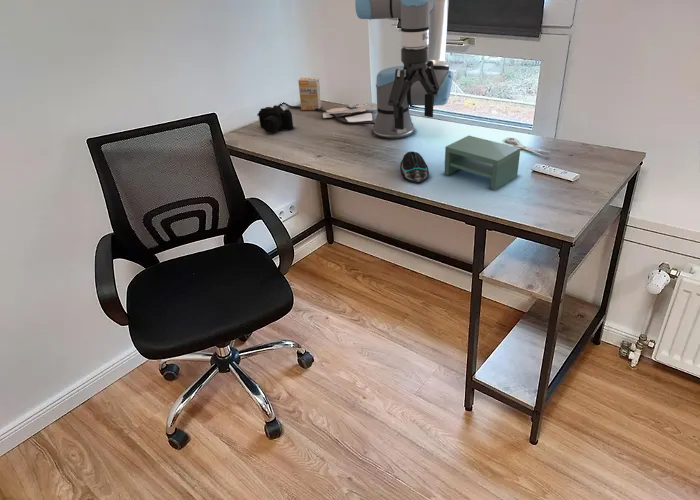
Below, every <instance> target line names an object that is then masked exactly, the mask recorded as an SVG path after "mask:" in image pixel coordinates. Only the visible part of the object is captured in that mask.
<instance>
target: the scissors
mask: <svg viewBox="0 0 700 500" xmlns="http://www.w3.org/2000/svg"><path fill="white" fill-rule="evenodd" d="M505 141H506V142H507V143H510V144H514V145H513V146H514V147H518V148H521V149H520V150H522V149H523V150H526V151H529V152H531V153H534V154H537V155H540V156H543V157H545V155H544V154H542V153H539V152H546V153H549V151H548V150H544V149H539V148H534V147H529V146H526V145H523V144H521V143H519V142H518V141H517V139H516V138H515V137H506V139H505ZM502 144H504V143H502Z"/></svg>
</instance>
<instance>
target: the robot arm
mask: <svg viewBox="0 0 700 500" xmlns="http://www.w3.org/2000/svg"><path fill="white" fill-rule="evenodd" d="M449 3H450V0H354V6H355V8H354V9H355V14H356V16H357V18H358V19H360V20H369V21H371V20H384V19H385V20H387V19H400V46H401V49H400V61H401V63H402V64H403V65H396V66H390V67H386V68H384V69H382V70H380V71H378V72H377V74H376V82H375V87H376V104H377V109H376V111H377V112H376V116H375V120H374V122H373V121H359V122H348V120H344V119H343V120H342V119H341V118H340V117H339V116H335V115H334V114H330V115H332V116H333V117H332V118H334V119H336V120H338V122H340V123H343V124H347V125H373V128H372V133H373V135H374V136H375V137H377V138H381V139H386V140H397V139H398V140H399V139H404V138H408V137H410V136H412V135H413V134H414V133H415V127H414V126H415V125H414V123H413V121H412V118H411V114H410V106H424V115H423V116H424V117H427V118H434V107H435V106H437V107H438V106H439V107H440V106H445V105H446V104H448V101H449V98H450V94H451V90H452V85H453V77H454V72H453V71H452V70H450V65H449V63H447V61H446V54H447V53H446V51H447V37H448V35H447V33H448V19H449V18H448V16H449ZM282 102H283V103H282ZM282 102H280V104H279V105H280V107H281V106H283V105H284V106H286V107H287V108H291V109H301V105H299V106H298V105H290V104H288V103H286V102H284V101H282ZM281 103H282V104H281ZM314 111H320V112H322V113H325V112H327V110H326V109H323V108H320V109H319V108H315V110H314Z"/></svg>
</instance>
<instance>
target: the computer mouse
mask: <svg viewBox="0 0 700 500" xmlns="http://www.w3.org/2000/svg"><path fill="white" fill-rule="evenodd" d="M399 165H400V166H399V170H400V174H401V177H402V179H403V180H405V181H408V182H410V183H413V184H421V183H423V182H425V181H426V180H427V179H428V178H429V175H430V172H429V166H428V164H427V163H426V161H425V159H424V157H423V156H422V155H421V153H419V152H416V151H407V152H406V153H405V154H403V157H402V160H401V161H400V163H399Z"/></svg>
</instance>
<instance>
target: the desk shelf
mask: <svg viewBox="0 0 700 500" xmlns="http://www.w3.org/2000/svg"><path fill="white" fill-rule="evenodd" d="M514 146H515V145H509V144H506V143H503V144H502V143H501V142H498V141H493V140H488V139H485V138H481V137H477V136H473V135H467V136H464V137H463V138H461V139H459V140H456V141H454V142H452V143H450V144H447V145H446V146H445V148H444V149H445V151H444V173H443V174H444V175H447V176H450V175H452V174H454V173H455V172H457V171H459V170H462V171H465V172H469V173H473V174H476V175H478V176H482V177H486V178H489V179H491V180H490V190H493V191H496V190H498V189H499V188H502V186H504V185H506V184H507V183H509V182H511V181H513V180H514V179H516V178H517V177H518V173H519V165H520V158H521V157H520V156H521V150H522V149H521V148H518V147H514Z"/></svg>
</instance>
